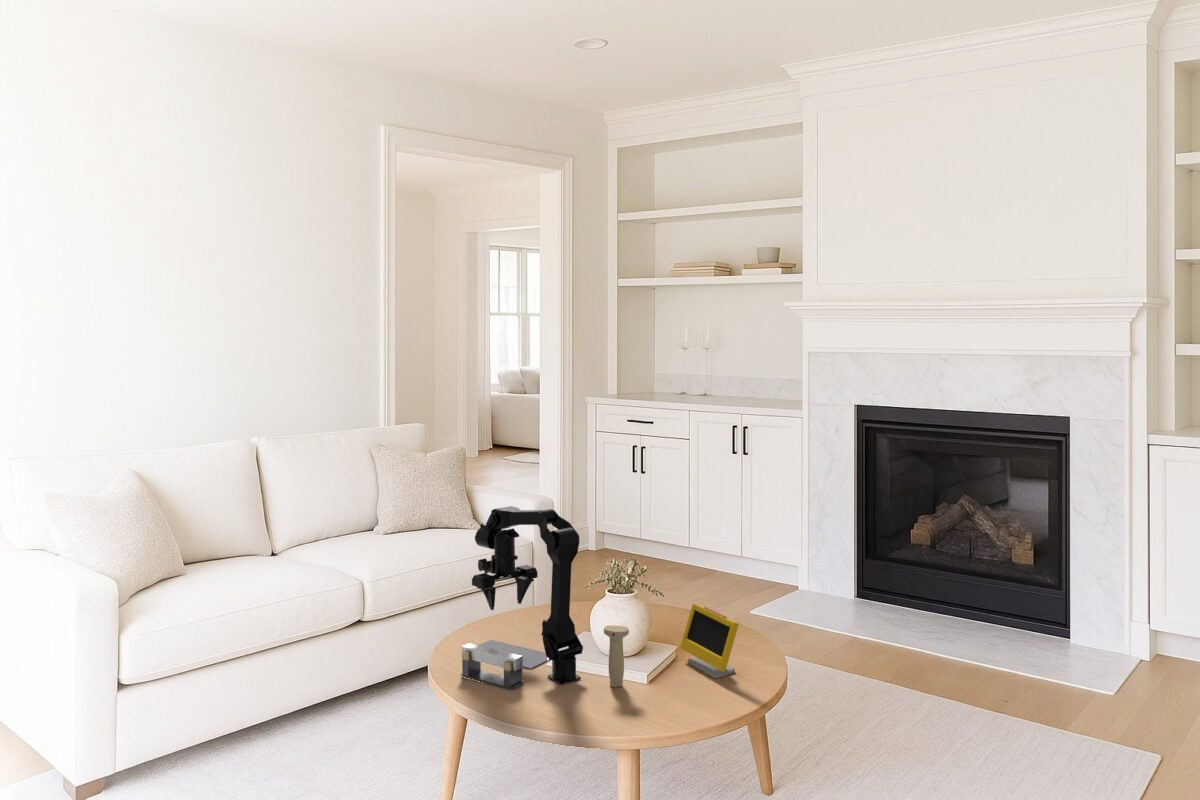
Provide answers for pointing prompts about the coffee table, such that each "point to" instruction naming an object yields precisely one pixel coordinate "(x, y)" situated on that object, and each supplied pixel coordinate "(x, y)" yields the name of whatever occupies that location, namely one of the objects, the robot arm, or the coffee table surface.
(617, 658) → the handle
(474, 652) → the rail
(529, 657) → the mat
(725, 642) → the yellow framed monitor
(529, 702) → the coffee table surface
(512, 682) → the grey stand
